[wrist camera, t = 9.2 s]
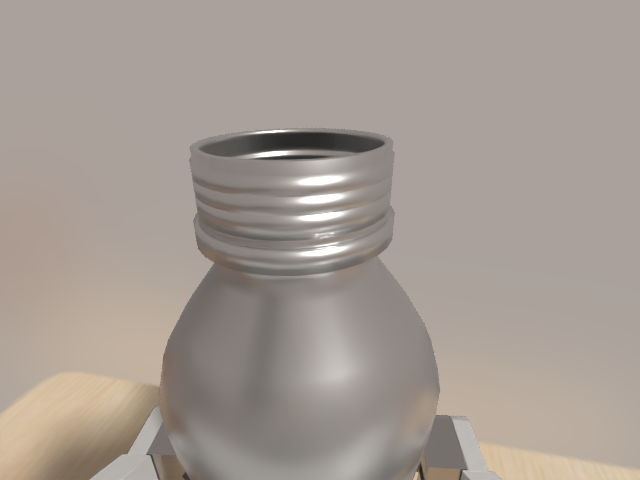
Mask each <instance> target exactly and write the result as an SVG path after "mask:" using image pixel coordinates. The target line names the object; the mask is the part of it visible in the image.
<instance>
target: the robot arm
mask: <svg viewBox="0 0 640 480" xmlns="http://www.w3.org/2000/svg"><path fill="white" fill-rule="evenodd" d="M416 471H417V472H418V478H417V480H502V479H501V478H500V477H499V476H498V475H497V474H496V473H495V472H490V471H488V469H487V466H486V463H485V461H484V458H483V455H482V453H481V450H480V447H479V445H478V442H477V439H476V437H475V434H474V431H473V429H472V426H471V423H470V420H469V419H468V418H467V417H466V416H448V415H435V418H434V422H433V425H432V429H431V433H430V438H429V441H428V443H427V445H426V447H425V450H424V452H423V455H422V457H421V460H420V462H419V465H418V467H417V470H416ZM89 480H190V478H189V476H188V475H187V473H186V471H185V470H184V468H183V466H182V465H181V463H180V462H179V460H178V458H177V456H176V453H175V451H174V448H173V446H172V444H171V441H170V439H169V437H168V435H167V433H166V429H165V426H164V423H163V419H162V416H161V413H160V404H158V405H157V406H156V407H155V408H154V409H153V410H152V412H151V414H150V415H149V417H148V419H147V421H146V422H145V424H144V426H143V427H142V429H141V431H140V433H139V434H138V436H137V438H136V440H135V441H134V443H133V445H132V447H131V448H130V450H129V452H128V454H122V455H120V456H119V457H118V458H117V459H115V460H114V461H113V462H111V463H110V464H109V465H107V466H106V467H105V468H104V469H102V470H101V471H100V472H98V473H97V474H96V475H94V476H93V477H92V478H91V479H89Z"/></svg>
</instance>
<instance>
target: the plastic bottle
mask: <svg viewBox="0 0 640 480" xmlns="http://www.w3.org/2000/svg"><path fill="white" fill-rule="evenodd" d="M392 148H393V140H392V139H390V138H389V137H386V136H384V135H380V134H376V133H371V132H365V131H356V130H345V129H326V128H290V129H272V130H271V129H270V130H257V131H246V132H238V133H231V134H225V135H219V136H215V137H210V138H206V139H203V140H200V141H198V142H196V143H194V144H192V145H191V146H190V151H191V158H190V159H189V161H190V166H191V172H192V179H193V185H194V192H195V198H196V205H197V211H198V213H197V214H196V215H195V218H194V221H193V222H194V228H195V234H196V241H197V245H198V249H199V250H200V251H201V253H202V254H203V255H204V256H205V257H206V258H208V259H209V260H211V261H213V262H214V264H213V266H212V267H211V269H210V270H209V271H208V273H207V274H206V276H205V278H204V279H203V280H202V282H201V283H200V285H199V286H198V287H197V289H196V291H195V292H194V293H193V295H192V297H191V298H190V300H189V301H188V303H187V305H186V307H185V309H184V310H183V312H182V314H181V316H180V318H179V320H178V322H177V324H176V326H175V328H174V330H173V332H172V333H171V336H170V338H169V339H168V343H167V346H166V349H165V353H164V356H163V365H162V374H161V383H160V413H161V416H162V419H163V423H164V426H165V429H166V433H167V435H168V437H169V439H170V441H171V444H172V446H173V448H174V451H175V453H176V456H177V458H178V460H179V462H180V463H181V465H182V466H183V468H184V470H185V471H186V473H187V475H188V476H189V478H190V480H413V478H414V475H415V472H416V470H417V467H418V465H419V462H420V460H421V457H422V455H423V452H424V450H425V447H426V445H427V443H428V441H429V438H430V433H431V429H432V425H433V422H434V418H435V415H436V410H437V405H438V398H439V393H440V386H439V376H438V368H437V364H436V360H435V356H434V351H433V347H432V343H431V339H430V337H429V334H428V331H427V329H426V327H425V324H424V322H423V321H422V319H421V317H420V316H419V314H418V312H417V311H416V309H415V307H414V306H413V304H412V302H411V301H410V299H409V297H408V296H407V294H406V292H405V291H404V290H403V288H402V287H401V286H400V284H399V283H398V282H397V280H396V279H395V278H394V277H393V275H392V274H391V273H390V272H389V271H388V269H387V268H386V266H385V265H384V264H383V263H382V261H381V260H380V259H379V258H378V255H379V254H380V253H381V252H382V251H384V250H385V249H386V248H387V247H388V245H389V244H390V242H391V240H392V235H393V224H394V211H393V209H392V207H391V206H390V197H391V186H392V175H393V163H394V152H393V151H392Z"/></svg>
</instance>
